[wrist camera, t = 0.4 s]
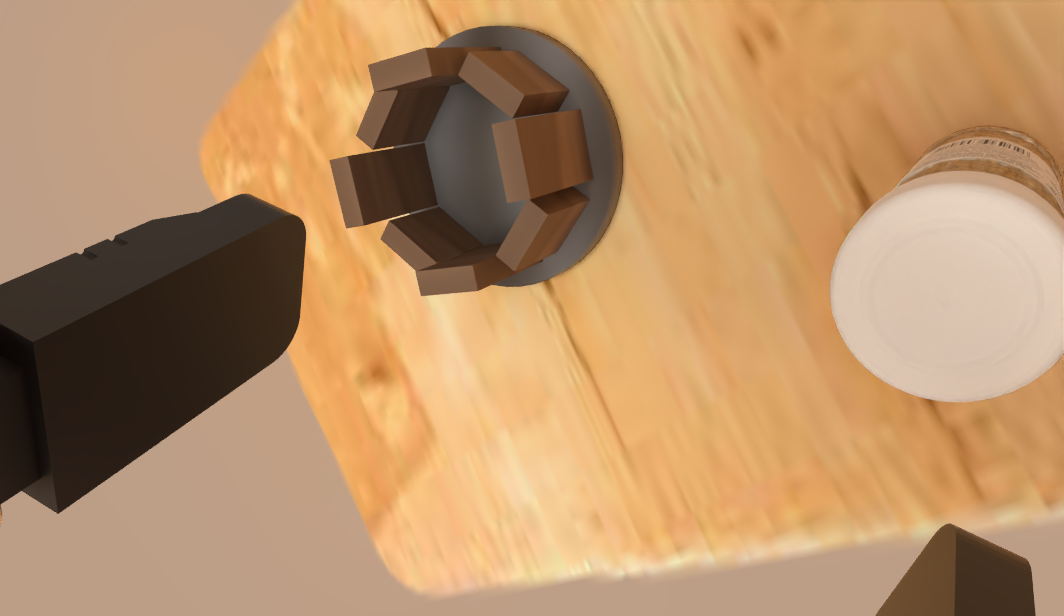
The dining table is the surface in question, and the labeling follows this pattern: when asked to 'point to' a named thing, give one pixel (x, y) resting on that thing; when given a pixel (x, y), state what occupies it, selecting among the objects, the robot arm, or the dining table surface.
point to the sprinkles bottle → (959, 271)
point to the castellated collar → (485, 160)
